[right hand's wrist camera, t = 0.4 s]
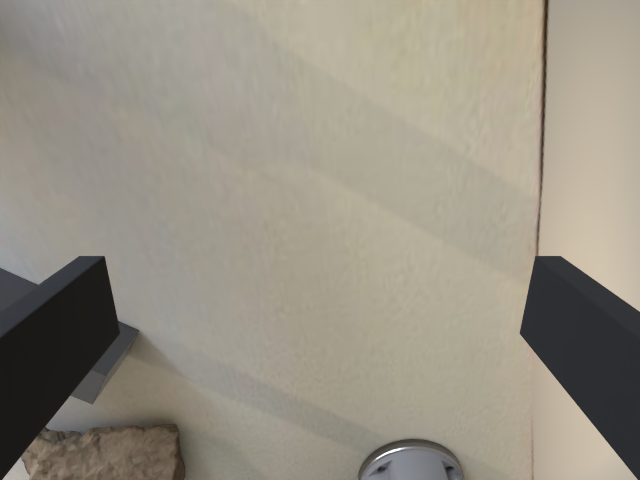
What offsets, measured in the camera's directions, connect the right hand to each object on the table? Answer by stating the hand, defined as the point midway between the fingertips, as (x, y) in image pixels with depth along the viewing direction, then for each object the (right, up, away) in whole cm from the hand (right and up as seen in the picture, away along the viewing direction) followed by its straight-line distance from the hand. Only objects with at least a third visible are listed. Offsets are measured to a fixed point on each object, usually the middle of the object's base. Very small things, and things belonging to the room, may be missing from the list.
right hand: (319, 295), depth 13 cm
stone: (-30, -29, +46) cm, 62 cm away
